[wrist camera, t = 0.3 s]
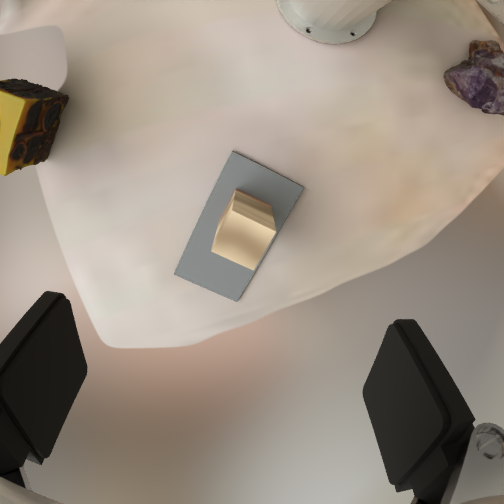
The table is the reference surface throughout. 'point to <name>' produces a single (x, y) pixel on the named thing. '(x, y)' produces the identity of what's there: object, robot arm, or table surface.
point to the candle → (27, 123)
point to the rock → (480, 77)
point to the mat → (201, 241)
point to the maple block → (244, 230)
